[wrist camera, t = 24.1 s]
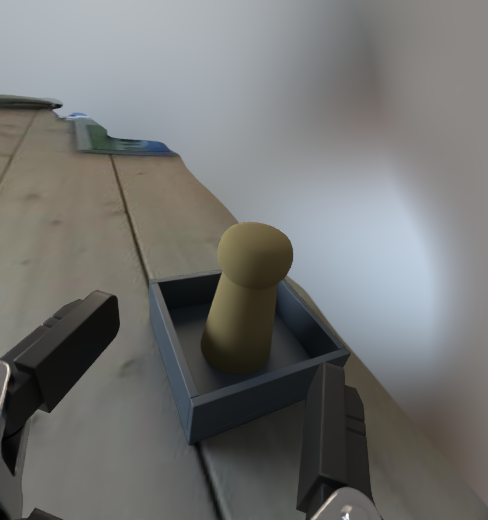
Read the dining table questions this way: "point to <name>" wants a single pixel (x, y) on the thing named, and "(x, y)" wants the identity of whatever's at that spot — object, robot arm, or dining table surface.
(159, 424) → the dining table surface
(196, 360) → the square tray
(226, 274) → the cork
